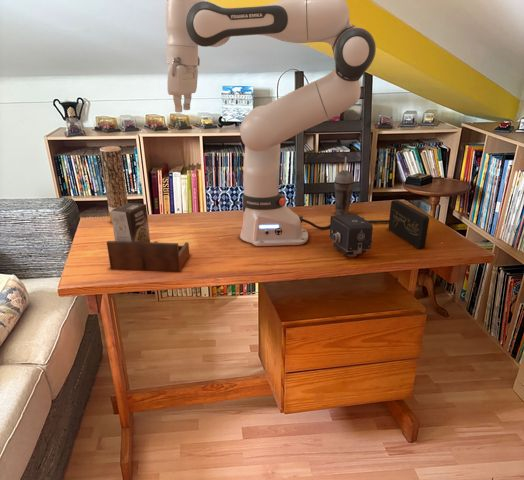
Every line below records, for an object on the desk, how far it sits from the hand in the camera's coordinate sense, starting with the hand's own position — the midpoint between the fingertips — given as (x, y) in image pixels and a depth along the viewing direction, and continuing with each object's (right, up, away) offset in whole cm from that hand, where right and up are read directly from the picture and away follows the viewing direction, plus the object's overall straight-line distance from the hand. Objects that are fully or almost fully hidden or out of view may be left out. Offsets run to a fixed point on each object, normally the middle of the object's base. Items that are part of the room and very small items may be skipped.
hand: (182, 111), depth 159 cm
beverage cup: (+53, -20, +40) cm, 70 cm away
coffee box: (-14, -45, -1) cm, 47 cm away
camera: (+50, -41, +5) cm, 65 cm away
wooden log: (-27, -25, +33) cm, 50 cm away
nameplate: (+70, -35, +16) cm, 80 cm away
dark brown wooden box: (-9, -45, -1) cm, 46 cm away
